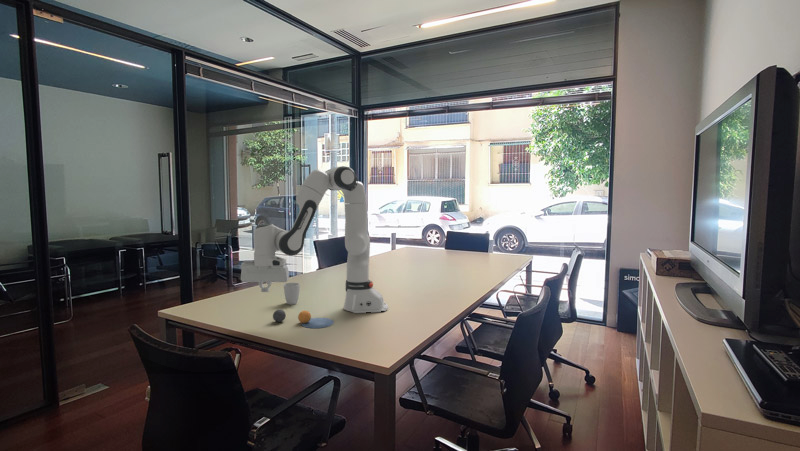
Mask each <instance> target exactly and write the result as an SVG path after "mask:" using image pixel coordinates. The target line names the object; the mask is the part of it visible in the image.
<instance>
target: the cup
mask: <svg viewBox="0 0 800 451" xmlns="http://www.w3.org/2000/svg"><path fill="white" fill-rule="evenodd" d="M300 288H301V284H300V283H299V282H285V283H284V284H283V290H284V293H283V294H284V298H285V301H286V304H287V305H297V304H298V301H299V296H300V290H301V289H300Z"/></svg>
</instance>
